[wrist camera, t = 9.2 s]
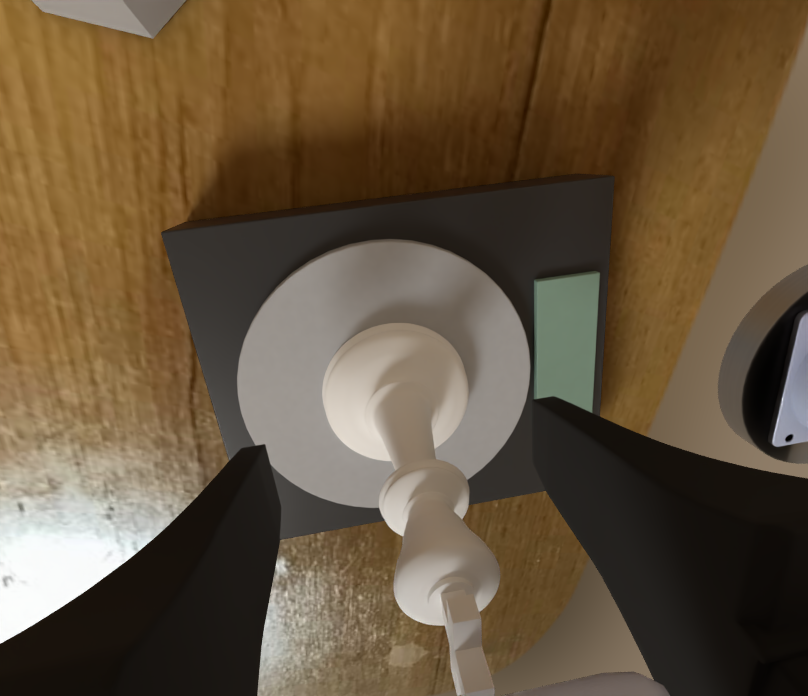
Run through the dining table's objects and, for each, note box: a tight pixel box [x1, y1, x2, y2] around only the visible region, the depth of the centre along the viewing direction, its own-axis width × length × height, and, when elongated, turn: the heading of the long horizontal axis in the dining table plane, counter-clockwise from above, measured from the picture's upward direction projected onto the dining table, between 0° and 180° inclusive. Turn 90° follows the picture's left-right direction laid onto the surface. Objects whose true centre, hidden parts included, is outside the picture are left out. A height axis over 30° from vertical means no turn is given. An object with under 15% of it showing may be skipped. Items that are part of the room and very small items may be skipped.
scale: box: [161, 174, 614, 540], centre depth 17 cm, size 14×12×3 cm
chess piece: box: [322, 323, 500, 696], centre depth 11 cm, size 5×5×10 cm
